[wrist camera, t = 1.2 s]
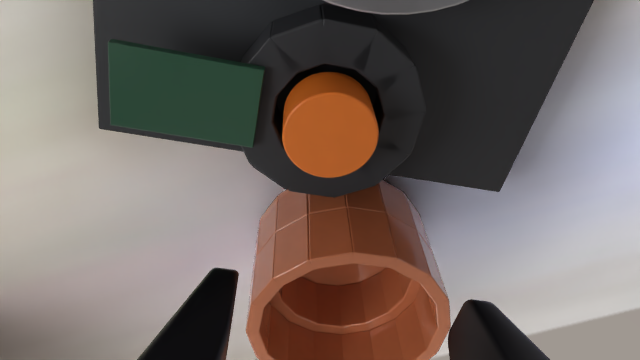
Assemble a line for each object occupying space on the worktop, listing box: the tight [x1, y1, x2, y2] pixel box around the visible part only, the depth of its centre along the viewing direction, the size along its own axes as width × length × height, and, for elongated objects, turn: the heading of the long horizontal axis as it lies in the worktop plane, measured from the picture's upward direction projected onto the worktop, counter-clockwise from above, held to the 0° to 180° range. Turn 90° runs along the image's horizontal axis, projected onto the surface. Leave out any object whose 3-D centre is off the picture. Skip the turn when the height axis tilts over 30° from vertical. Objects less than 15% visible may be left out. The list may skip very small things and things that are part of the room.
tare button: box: [282, 72, 379, 178], centre depth 14 cm, size 3×3×2 cm
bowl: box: [246, 180, 451, 360], centre depth 18 cm, size 7×7×5 cm
